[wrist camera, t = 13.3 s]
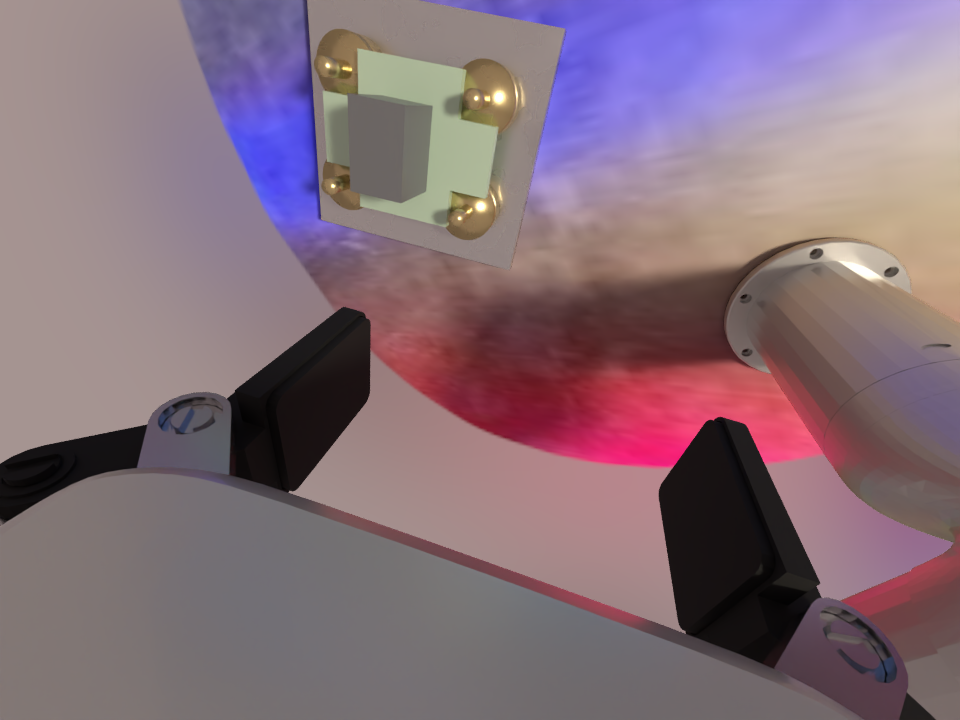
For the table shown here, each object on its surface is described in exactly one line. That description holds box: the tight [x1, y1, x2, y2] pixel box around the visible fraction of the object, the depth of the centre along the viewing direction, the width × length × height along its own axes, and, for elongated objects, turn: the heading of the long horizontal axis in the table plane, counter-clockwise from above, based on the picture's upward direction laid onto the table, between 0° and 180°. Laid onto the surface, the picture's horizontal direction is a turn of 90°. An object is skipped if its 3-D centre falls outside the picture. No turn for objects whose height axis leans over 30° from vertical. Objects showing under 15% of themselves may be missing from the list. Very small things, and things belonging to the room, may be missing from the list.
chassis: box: [307, 0, 566, 270], centre depth 31 cm, size 20×18×7 cm
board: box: [323, 48, 499, 227], centre depth 29 cm, size 14×11×6 cm
